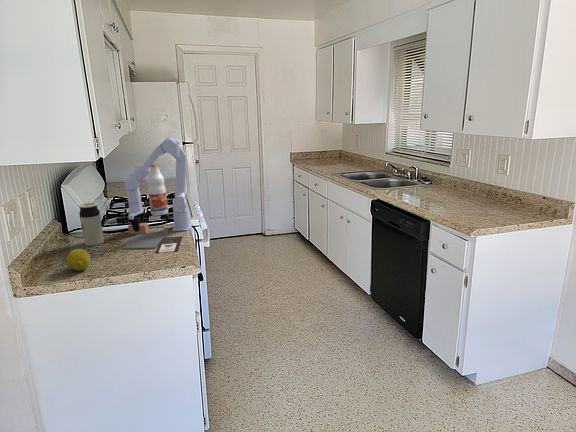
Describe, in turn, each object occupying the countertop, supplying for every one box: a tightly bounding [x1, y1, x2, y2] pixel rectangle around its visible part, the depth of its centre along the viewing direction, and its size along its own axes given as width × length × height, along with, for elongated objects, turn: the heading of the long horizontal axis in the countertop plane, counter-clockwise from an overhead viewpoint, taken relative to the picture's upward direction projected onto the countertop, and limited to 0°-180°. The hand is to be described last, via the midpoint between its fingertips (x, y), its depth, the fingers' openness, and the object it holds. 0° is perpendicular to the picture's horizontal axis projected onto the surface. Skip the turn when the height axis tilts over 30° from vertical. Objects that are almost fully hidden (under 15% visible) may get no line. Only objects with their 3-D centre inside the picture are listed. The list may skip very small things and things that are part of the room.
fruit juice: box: [146, 162, 169, 216], centre depth 219 cm, size 9×9×28 cm
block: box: [127, 222, 150, 235], centre depth 191 cm, size 8×4×4 cm, turn 91°
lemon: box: [66, 248, 91, 272], centre depth 149 cm, size 11×8×8 cm
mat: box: [121, 233, 168, 250], centre depth 178 cm, size 18×14×1 cm
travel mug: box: [78, 202, 105, 247], centre depth 175 cm, size 8×8×18 cm
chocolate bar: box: [155, 235, 183, 254], centre depth 173 cm, size 9×1×18 cm
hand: (138, 229), depth 191 cm, fingers closed on block, 4 cm apart
